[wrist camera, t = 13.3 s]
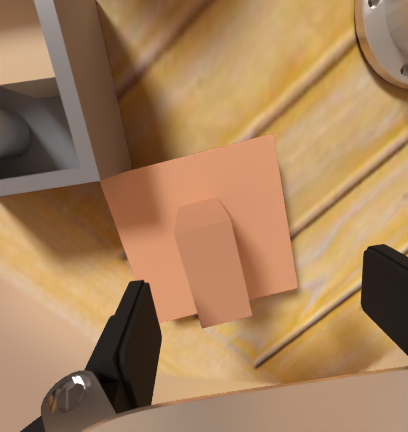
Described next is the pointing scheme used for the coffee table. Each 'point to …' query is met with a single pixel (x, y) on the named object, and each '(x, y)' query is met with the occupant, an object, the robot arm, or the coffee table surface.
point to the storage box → (56, 98)
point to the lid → (206, 230)
